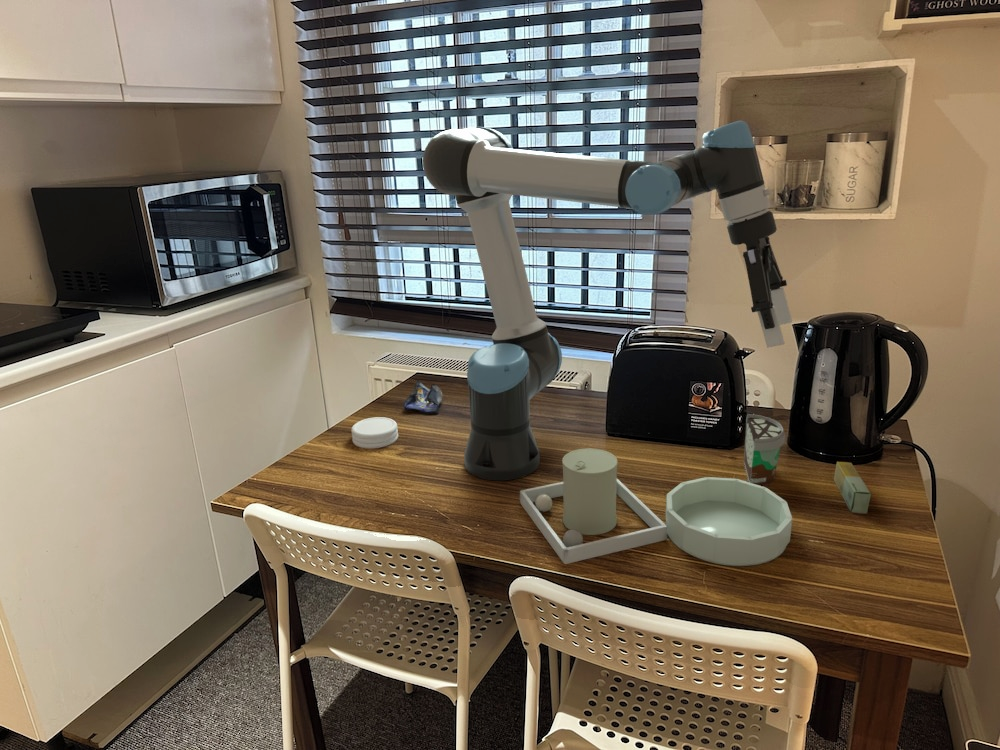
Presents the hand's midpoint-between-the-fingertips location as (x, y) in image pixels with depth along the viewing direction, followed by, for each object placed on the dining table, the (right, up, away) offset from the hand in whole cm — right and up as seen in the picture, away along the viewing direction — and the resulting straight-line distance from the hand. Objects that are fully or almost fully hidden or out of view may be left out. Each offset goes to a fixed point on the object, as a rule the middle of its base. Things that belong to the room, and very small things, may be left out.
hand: (780, 334), depth 123 cm
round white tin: (-76, -22, +32) cm, 86 cm away
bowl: (-12, -33, -7) cm, 36 cm away
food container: (+1, -26, +10) cm, 28 cm away
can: (-34, -32, -2) cm, 47 cm away
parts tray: (-34, -32, -2) cm, 46 cm away
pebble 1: (-41, -31, +1) cm, 52 cm away
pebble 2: (-37, -35, -10) cm, 52 cm away
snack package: (-67, -15, +49) cm, 84 cm away
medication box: (+13, -29, +2) cm, 32 cm away
